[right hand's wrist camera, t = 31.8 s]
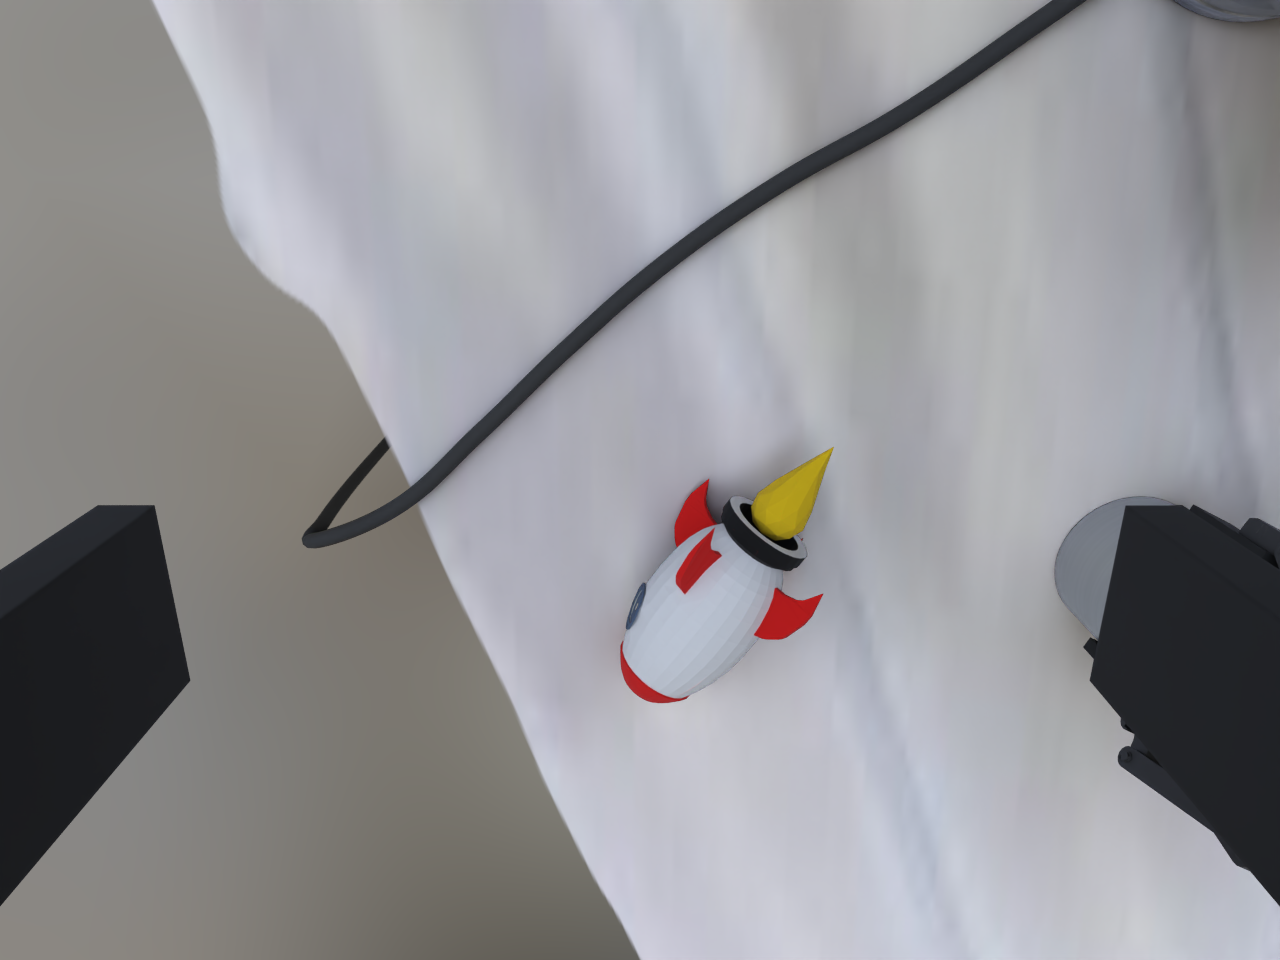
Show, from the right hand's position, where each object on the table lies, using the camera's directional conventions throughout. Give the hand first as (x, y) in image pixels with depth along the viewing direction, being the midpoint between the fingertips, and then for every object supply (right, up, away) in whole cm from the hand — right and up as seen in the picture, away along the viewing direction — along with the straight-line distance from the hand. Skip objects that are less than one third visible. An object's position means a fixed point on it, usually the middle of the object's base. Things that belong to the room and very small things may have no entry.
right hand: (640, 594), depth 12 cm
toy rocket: (+5, -3, +45) cm, 45 cm away
